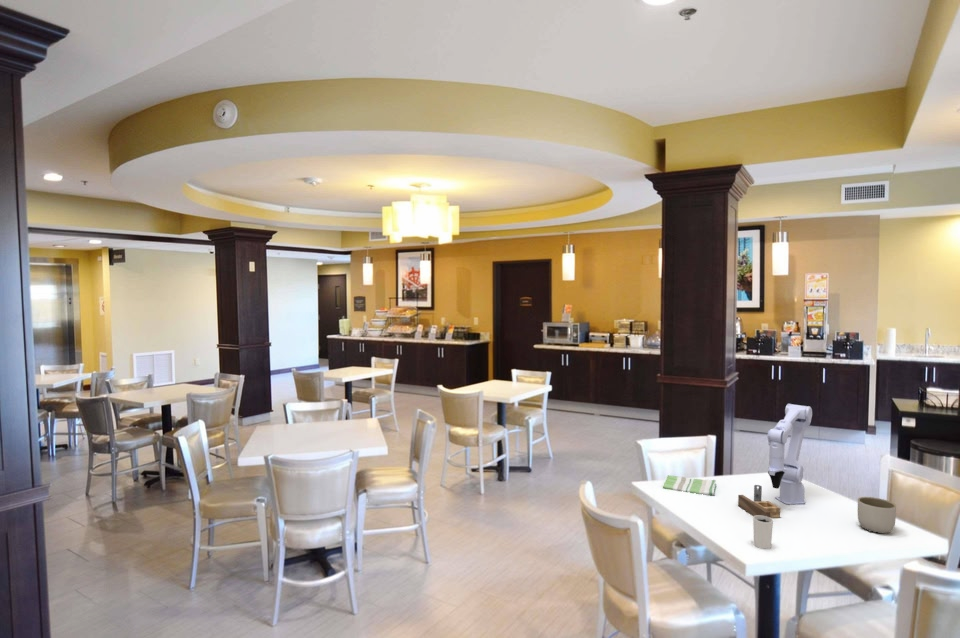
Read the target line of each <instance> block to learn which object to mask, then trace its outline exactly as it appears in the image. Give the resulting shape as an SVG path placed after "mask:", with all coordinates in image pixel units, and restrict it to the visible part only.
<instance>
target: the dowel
mask: <svg viewBox="0 0 960 638" xmlns="http://www.w3.org/2000/svg"><path fill="white" fill-rule="evenodd" d="M762 488H763V487H762V485H759V484H754V485H753V501H762V497H763V496H762V493H763V492H762Z"/></svg>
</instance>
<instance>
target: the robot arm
mask: <svg viewBox="0 0 960 638" xmlns="http://www.w3.org/2000/svg"><path fill="white" fill-rule="evenodd" d="M784 414H785V416H784V417H783V419H780V420H779V421H778V422H777V423H776V425H775V426H774V428H771V429H769V430H768V431H767V441H768V443H767V444H768V447H769V454H768V455H769V462H768V472H767V474H768V476H769V477H770V481H771V486H772V488H773V489H777V490H779V496H774V498H775V499H776V500H778V501H780V502H781V503H783V504H785V505H797V504H798V505H800V504H801V505H802V504H806V502H805V491H806V490H805V486H804V484H803V483H802V481H803V479H804V478H803V477H804V468H803V465H802V464H801V463H800V462H799V457H800V453H801V449H802V444H803V440H804V435H805V431H806V428H807V427H810V425H811V422H812V417H813V409H812V407H811V406H809V405H808V406H807V405H800V404H792V403H787V404H786V406H785V409H784ZM790 432H791V434H790V439H789V433H790ZM788 439H789V443H788V447H787V452H786V457H785V450H786V449H785V448H786V447H785V445H786V443H787V441H788Z"/></svg>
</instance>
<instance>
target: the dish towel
mask: <svg viewBox="0 0 960 638" xmlns="http://www.w3.org/2000/svg"><path fill="white" fill-rule="evenodd" d="M716 483H717V480H716V479H701V478H700V479H699V478H689V477H685V476H679V475H678V476H677V475H671V474H670V475H667V476H666V479H665V482H664V483H663V486H662V489H665V490H671V491H677V492H682V491H683V493H688V492H690V493H689V494H694V493H696V494H695V495H702V494H703V495H704V496H710V497H711V496H712V497H713V496H714V497H715V496H716V489H717V484H716Z"/></svg>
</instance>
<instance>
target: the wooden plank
mask: <svg viewBox="0 0 960 638" xmlns="http://www.w3.org/2000/svg"><path fill="white" fill-rule="evenodd" d="M737 496H738V497H737V498H738V499H737V507H739V508H740V509H741V510H743V511H745V512H746V513H747V514H749V515H750V516H752V517H753V516H756V515H762V516H767V517H770V512H769V511H768V510H766V509H765V508H763V507H761V506H760V505H758V504H757V503H755V502H753V501H754V500H752V499H750V498H748V497H747V496H746V495H744V494H738V495H737Z"/></svg>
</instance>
